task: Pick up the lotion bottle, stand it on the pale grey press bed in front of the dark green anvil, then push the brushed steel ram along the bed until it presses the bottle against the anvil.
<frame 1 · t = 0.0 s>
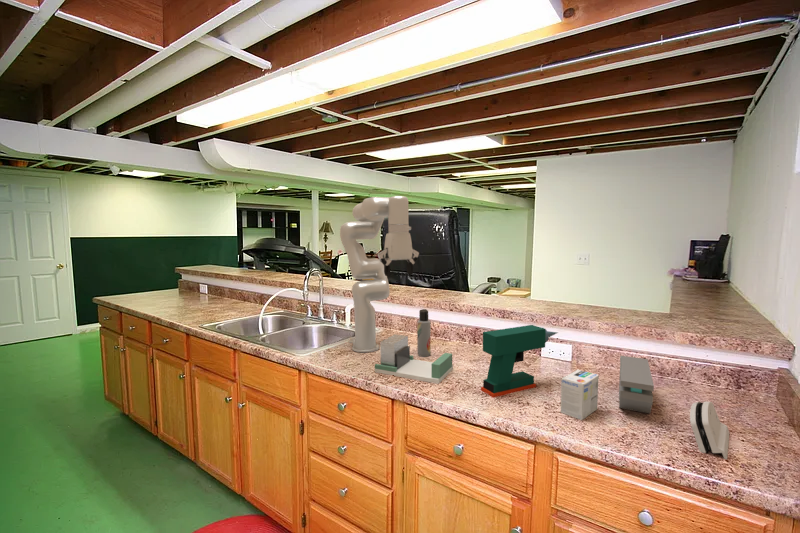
hand: (398, 275, 144), 37 cm above the worktop, tool pointing down, fingers open, 9 cm apart
light bulb box: (579, 411, 113), on the worktop
lotion bottle: (424, 355, 166), on the worktop
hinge: (708, 440, 97), on the worktop
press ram: (395, 351, 150), point 7 cm above the worktop, slide at 0.0 cm
gray lidded box: (633, 403, 118), on the worktop
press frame: (414, 370, 147), on the worktop
power tool: (523, 385, 133), on the worktop
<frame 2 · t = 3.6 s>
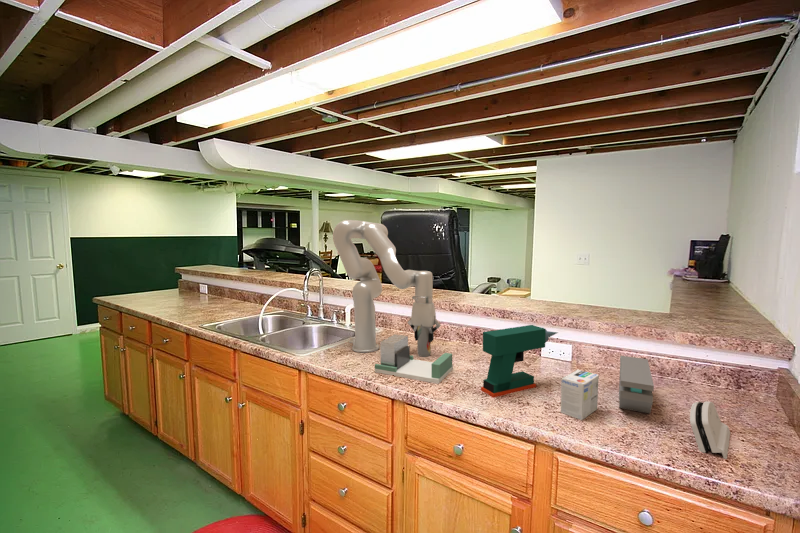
hand: (423, 340, 165), 7 cm above the worktop, tool pointing down, fingers closed on lotion bottle, 5 cm apart
lotion bottle: (424, 355, 166), on the worktop, touching gripper
everything else where it was.
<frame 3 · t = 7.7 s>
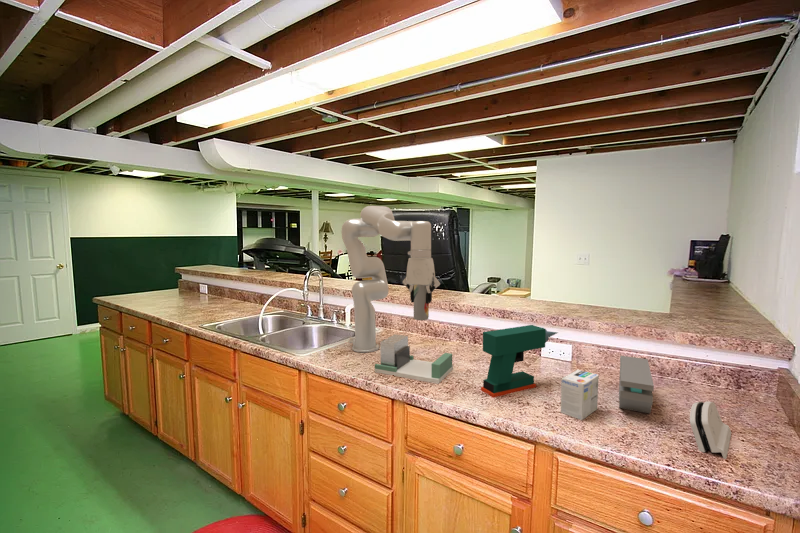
hand: (421, 301, 144), 27 cm above the worktop, tool pointing down, fingers closed on lotion bottle, 5 cm apart
lotion bottle: (421, 319, 144), point 21 cm above the worktop, touching gripper
everything else where it was.
when the fingers open (10 cm above the worktop, at t = 11.3 s): lotion bottle drops 2 cm, resting on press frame.
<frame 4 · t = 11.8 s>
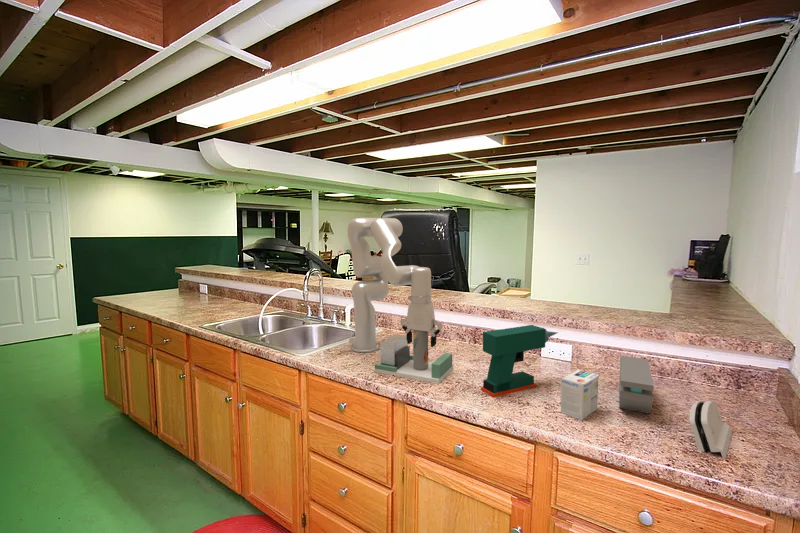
hand: (421, 344, 145), 11 cm above the worktop, tool pointing down, fingers open, 9 cm apart
lotion bottle: (420, 368, 146), point 1 cm above the worktop, touching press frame
everything else where it was.
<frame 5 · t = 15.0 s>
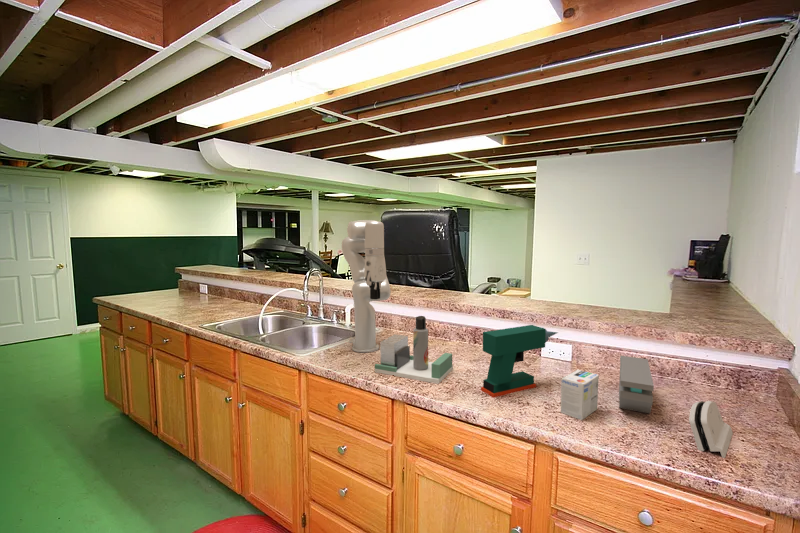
hand: (375, 298, 152), 27 cm above the worktop, tool pointing down, fingers closed
nothing on the worktop moved.
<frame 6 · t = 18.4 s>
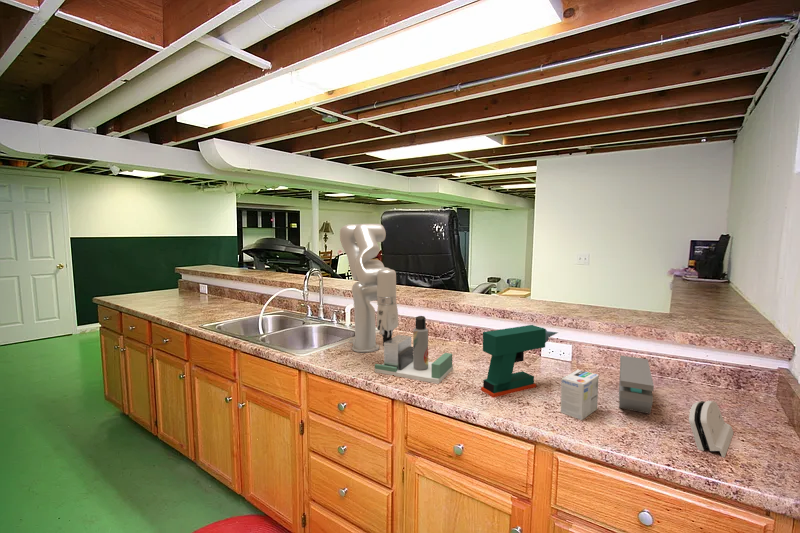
hand: (387, 346, 151), 8 cm above the worktop, tool pointing down, fingers closed
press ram: (399, 351, 150), point 7 cm above the worktop, slide at 1.5 cm, touching gripper
everything else where it was.
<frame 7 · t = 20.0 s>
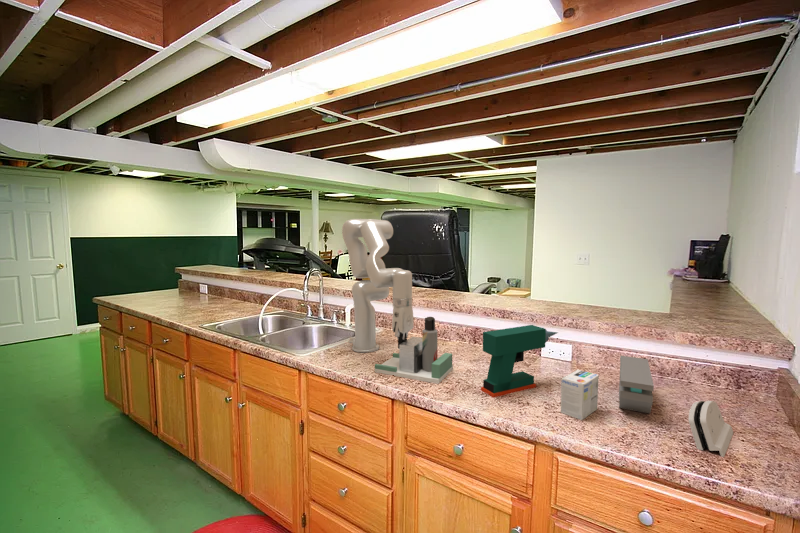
hand: (402, 348, 149), 8 cm above the worktop, tool pointing down, fingers closed
lotion bottle: (429, 369, 144), point 1 cm above the worktop, touching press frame, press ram
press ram: (414, 354, 147), point 7 cm above the worktop, slide at 8.1 cm, touching gripper, lotion bottle
everything else where it was.
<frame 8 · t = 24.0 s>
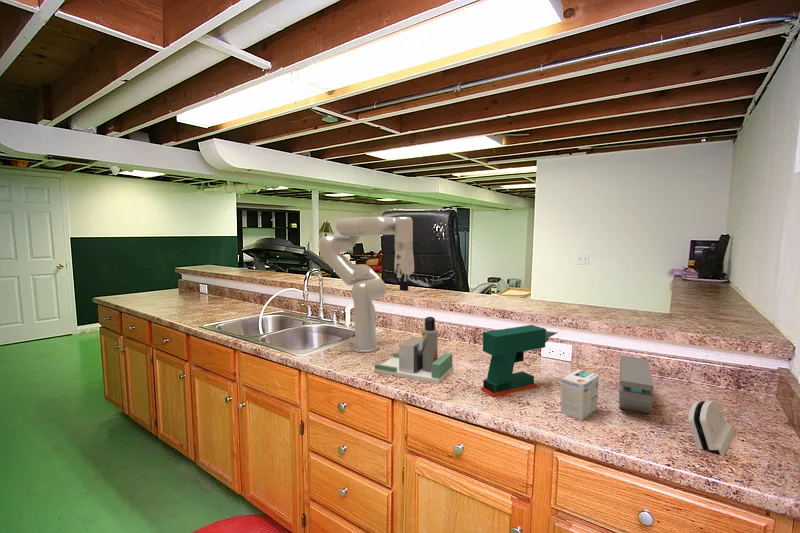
hand: (404, 290, 160), 29 cm above the worktop, tool pointing down, fingers closed
lotion bottle: (430, 369, 144), point 1 cm above the worktop, touching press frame
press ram: (414, 354, 147), point 7 cm above the worktop, slide at 8.0 cm
at the end: lotion bottle 0.3 cm from the target spot on the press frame, point 1.3 cm above the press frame's base; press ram slide at 8.0 cm; lotion bottle tilted 0° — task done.
